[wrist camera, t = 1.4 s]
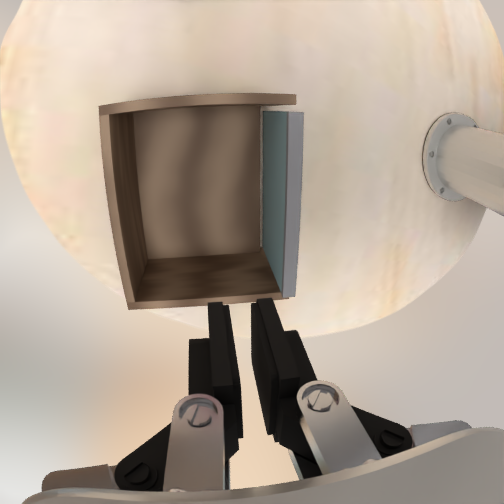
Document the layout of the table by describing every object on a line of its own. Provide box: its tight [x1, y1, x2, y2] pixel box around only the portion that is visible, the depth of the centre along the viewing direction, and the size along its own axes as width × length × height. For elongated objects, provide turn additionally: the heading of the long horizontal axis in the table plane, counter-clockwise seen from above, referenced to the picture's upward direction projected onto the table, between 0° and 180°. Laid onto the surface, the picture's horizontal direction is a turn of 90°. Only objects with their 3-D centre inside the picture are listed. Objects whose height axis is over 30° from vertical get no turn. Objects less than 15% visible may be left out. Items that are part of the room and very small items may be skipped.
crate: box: [99, 93, 296, 310], centre depth 29 cm, size 15×18×10 cm
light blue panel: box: [262, 111, 304, 298], centre depth 29 cm, size 1×15×11 cm, turn 1°
